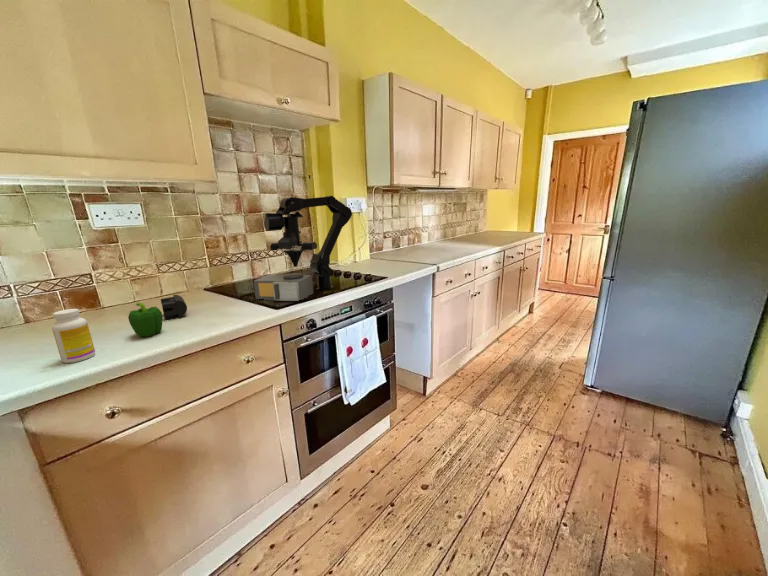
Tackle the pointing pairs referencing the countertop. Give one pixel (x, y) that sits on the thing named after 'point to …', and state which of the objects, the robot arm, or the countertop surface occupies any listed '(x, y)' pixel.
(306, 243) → the robot arm
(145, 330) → the bell pepper
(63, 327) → the supplement bottle
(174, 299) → the end cap
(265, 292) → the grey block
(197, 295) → the countertop surface
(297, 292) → the side door
